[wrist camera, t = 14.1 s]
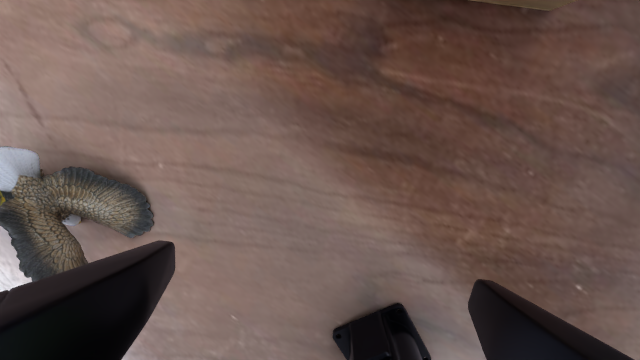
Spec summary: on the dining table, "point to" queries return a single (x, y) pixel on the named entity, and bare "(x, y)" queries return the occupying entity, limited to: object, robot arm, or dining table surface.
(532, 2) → the tray
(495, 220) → the dining table surface
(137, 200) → the eagle figurine
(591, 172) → the dining table surface
